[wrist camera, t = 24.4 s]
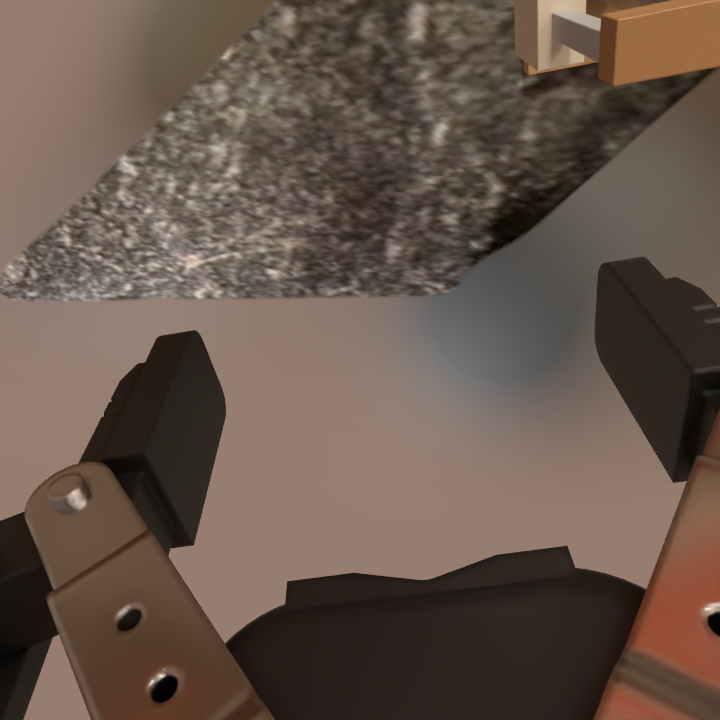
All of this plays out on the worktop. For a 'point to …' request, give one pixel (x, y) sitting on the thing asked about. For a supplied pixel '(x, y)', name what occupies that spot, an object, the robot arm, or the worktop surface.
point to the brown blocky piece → (620, 38)
